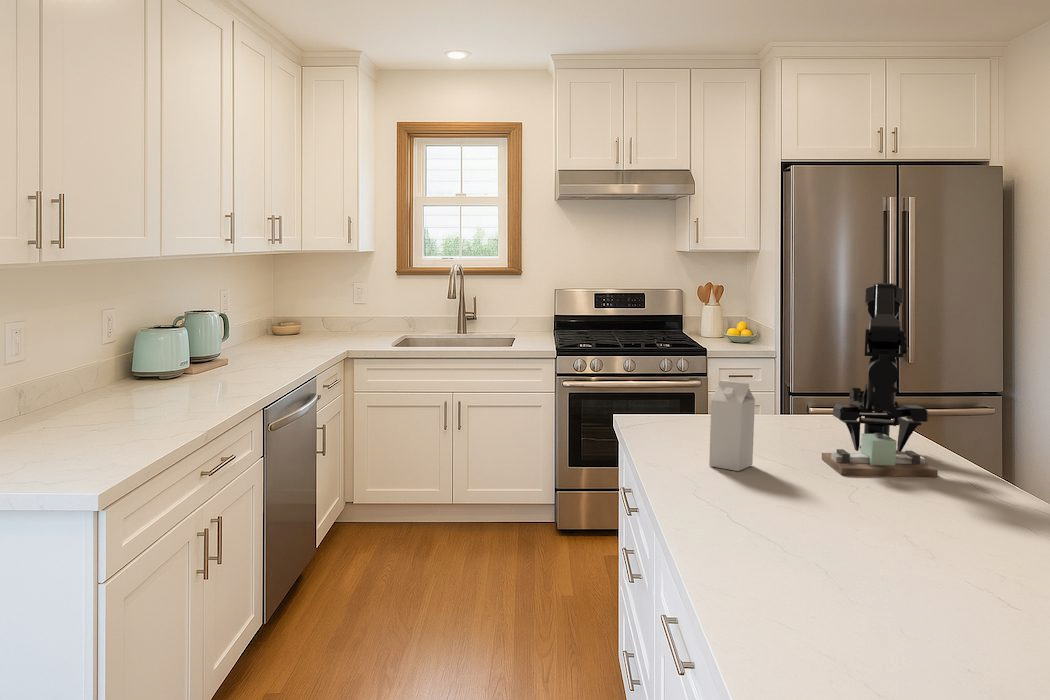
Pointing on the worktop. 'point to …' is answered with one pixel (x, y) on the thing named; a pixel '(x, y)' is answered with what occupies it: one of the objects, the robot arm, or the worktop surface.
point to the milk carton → (732, 426)
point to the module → (879, 448)
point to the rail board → (860, 465)
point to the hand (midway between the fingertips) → (877, 450)
